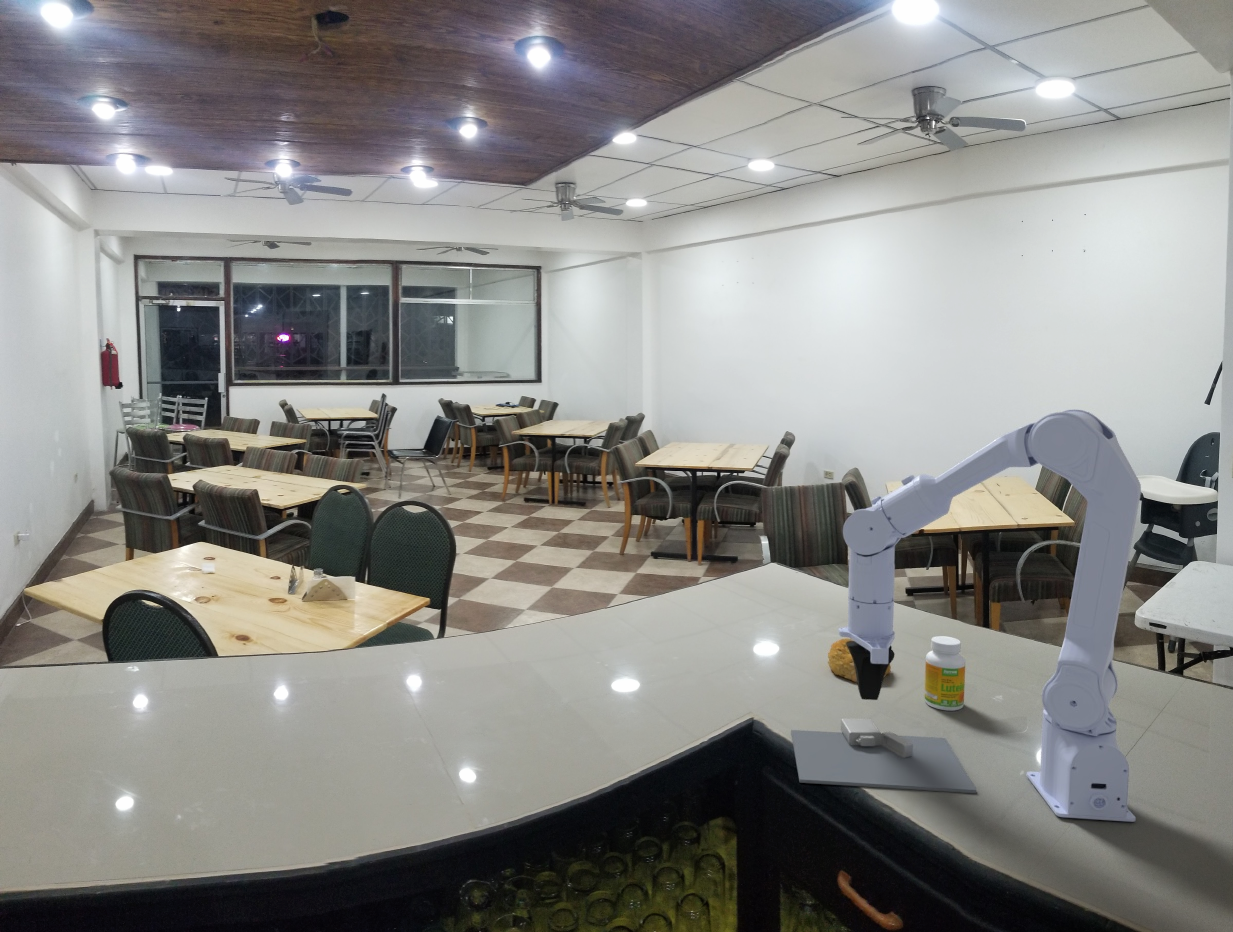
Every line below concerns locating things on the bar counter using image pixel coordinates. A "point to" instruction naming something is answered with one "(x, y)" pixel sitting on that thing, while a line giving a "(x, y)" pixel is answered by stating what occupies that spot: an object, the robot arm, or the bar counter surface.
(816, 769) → the mat
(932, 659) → the supplement bottle
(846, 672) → the bagel
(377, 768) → the bar counter surface
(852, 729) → the lighter
